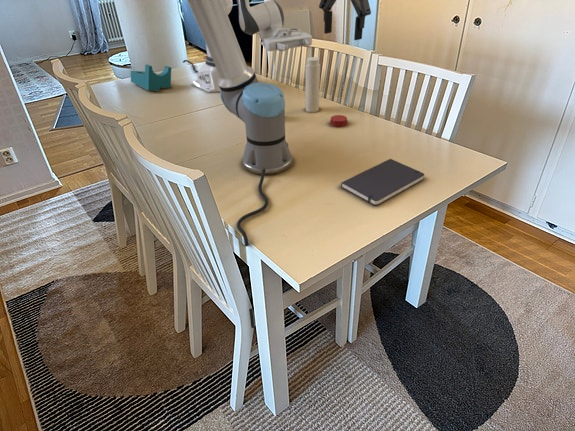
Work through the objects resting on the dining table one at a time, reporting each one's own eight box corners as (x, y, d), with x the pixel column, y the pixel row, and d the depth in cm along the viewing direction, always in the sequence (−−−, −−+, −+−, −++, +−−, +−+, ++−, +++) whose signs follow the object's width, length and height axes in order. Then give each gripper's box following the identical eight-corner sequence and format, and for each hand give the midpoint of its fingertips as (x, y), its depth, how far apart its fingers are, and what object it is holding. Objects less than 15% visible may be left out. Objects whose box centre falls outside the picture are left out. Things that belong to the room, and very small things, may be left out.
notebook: (389, 163, 124) (340, 187, 113) (390, 158, 123) (341, 182, 112) (424, 178, 116) (375, 206, 105) (425, 174, 115) (376, 201, 104)
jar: (302, 108, 163) (302, 58, 151) (314, 106, 165) (315, 56, 153) (310, 113, 159) (310, 61, 147) (321, 110, 161) (323, 59, 149)
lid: (342, 128, 146) (343, 122, 145) (327, 125, 149) (327, 119, 148) (349, 122, 150) (349, 116, 149) (334, 119, 153) (335, 113, 152)
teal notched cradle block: (170, 90, 188) (171, 67, 184) (148, 90, 181) (148, 66, 177) (152, 82, 199) (152, 60, 195) (130, 81, 192) (130, 58, 187)
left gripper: (258, 34, 163) (272, 41, 153) (302, 28, 170) (319, 34, 160) (259, 50, 167) (273, 58, 157) (302, 44, 174) (318, 51, 164)
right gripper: (388, -41, 113) (379, 40, 126) (326, -43, 129) (324, 28, 142) (370, -39, 110) (363, 44, 122) (308, -42, 125) (308, 32, 138)
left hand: (296, 46), depth 158 cm, fingers open, 8 cm apart
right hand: (342, 36), depth 132 cm, fingers open, 13 cm apart
